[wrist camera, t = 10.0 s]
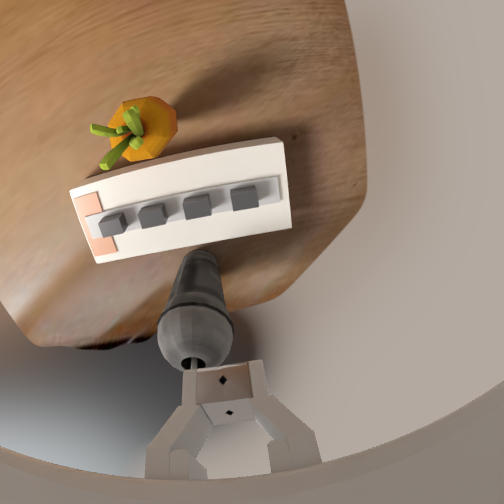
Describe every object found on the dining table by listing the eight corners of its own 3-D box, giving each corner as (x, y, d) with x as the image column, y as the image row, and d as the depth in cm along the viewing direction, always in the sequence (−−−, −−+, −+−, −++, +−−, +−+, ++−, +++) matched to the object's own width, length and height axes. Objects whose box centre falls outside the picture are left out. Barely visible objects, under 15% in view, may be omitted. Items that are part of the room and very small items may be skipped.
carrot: (156, 150, 28) (106, 196, 15) (134, 112, 26) (65, 129, 13) (196, 127, 28) (176, 153, 15) (175, 87, 25) (134, 78, 12)
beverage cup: (230, 239, 35) (243, 384, 17) (228, 289, 38) (240, 430, 21) (168, 239, 34) (132, 381, 16) (173, 288, 37) (153, 428, 20)
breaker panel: (84, 179, 29) (60, 197, 23) (275, 136, 29) (287, 145, 24) (107, 246, 33) (91, 273, 28) (284, 213, 34) (296, 236, 28)
